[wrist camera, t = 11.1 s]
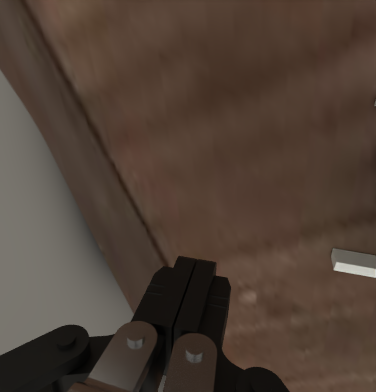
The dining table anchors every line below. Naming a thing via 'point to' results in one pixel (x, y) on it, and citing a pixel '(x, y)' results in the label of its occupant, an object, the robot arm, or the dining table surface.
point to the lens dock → (354, 261)
